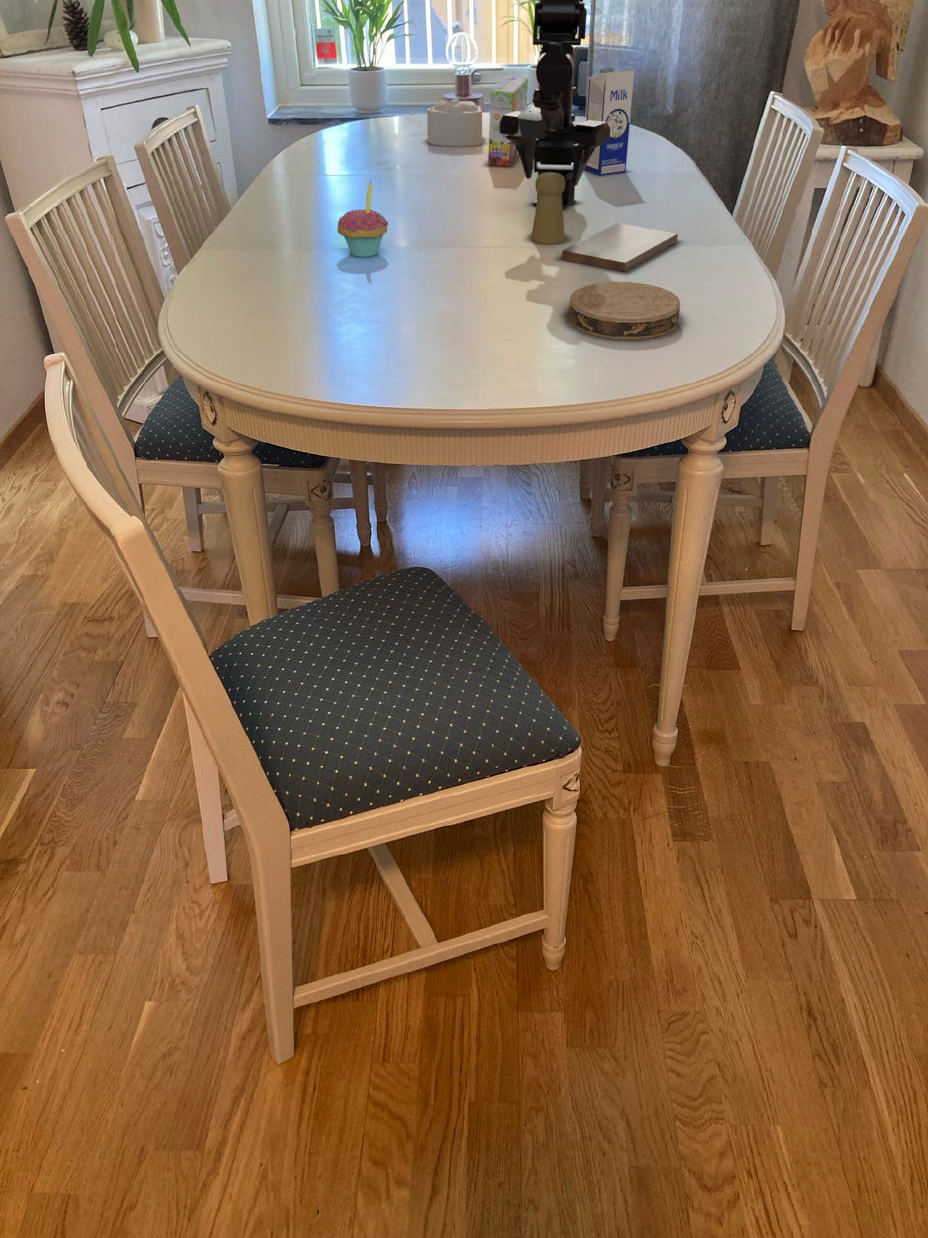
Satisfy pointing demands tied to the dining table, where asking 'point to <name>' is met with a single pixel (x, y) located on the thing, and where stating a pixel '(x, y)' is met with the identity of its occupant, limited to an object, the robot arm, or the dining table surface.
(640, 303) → the wood slice
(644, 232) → the serving board
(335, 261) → the dining table surface
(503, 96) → the snack box
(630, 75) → the milk carton
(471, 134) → the lumpy-topped squat cylinder
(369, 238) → the cupcake
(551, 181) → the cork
